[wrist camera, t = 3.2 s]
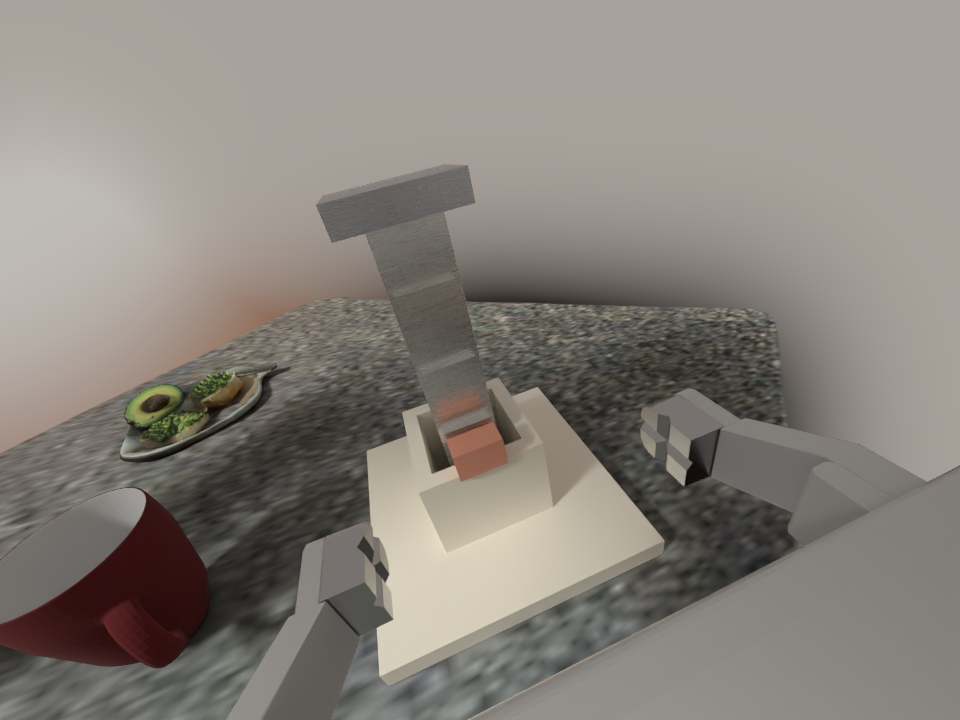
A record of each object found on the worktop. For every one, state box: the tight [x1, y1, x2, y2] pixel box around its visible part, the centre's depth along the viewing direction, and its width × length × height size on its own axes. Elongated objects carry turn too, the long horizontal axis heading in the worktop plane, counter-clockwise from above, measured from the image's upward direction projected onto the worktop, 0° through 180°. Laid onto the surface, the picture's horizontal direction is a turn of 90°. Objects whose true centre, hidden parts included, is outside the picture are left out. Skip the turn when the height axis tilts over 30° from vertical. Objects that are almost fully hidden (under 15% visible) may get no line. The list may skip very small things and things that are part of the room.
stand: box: [367, 377, 665, 686], centre depth 26 cm, size 18×18×10 cm
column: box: [316, 165, 497, 466], centre depth 23 cm, size 6×5×24 cm
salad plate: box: [120, 364, 277, 462], centre depth 50 cm, size 19×18×5 cm
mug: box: [0, 487, 209, 668], centre depth 22 cm, size 10×8×10 cm
